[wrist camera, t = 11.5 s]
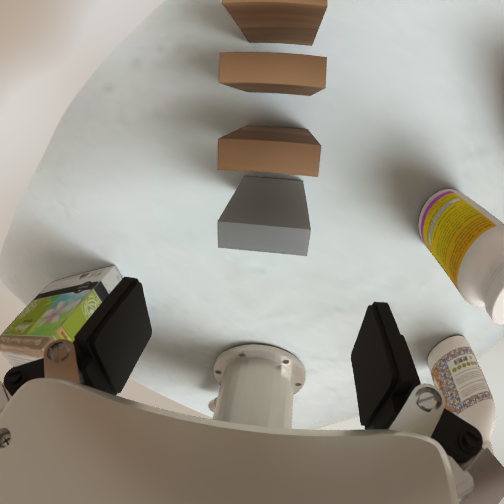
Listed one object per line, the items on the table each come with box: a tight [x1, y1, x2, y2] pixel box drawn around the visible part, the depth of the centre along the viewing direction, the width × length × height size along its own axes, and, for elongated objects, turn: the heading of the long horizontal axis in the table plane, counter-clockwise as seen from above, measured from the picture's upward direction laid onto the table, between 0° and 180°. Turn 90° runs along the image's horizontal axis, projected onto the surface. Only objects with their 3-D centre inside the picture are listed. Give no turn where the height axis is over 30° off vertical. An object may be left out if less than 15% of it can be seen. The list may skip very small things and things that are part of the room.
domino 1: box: [222, 0, 327, 46], centre depth 13 cm, size 2×5×10 cm, turn 89°
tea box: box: [0, 266, 123, 367], centre depth 28 cm, size 15×10×15 cm, turn 108°
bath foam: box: [427, 336, 496, 455], centre depth 23 cm, size 7×7×20 cm
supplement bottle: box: [418, 189, 504, 324], centre depth 17 cm, size 7×7×13 cm
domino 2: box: [219, 52, 327, 96], centre depth 15 cm, size 2×5×10 cm, turn 88°
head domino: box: [218, 176, 311, 256], centre depth 20 cm, size 2×5×10 cm, turn 87°
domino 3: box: [218, 125, 321, 177], centre depth 18 cm, size 2×5×10 cm, turn 88°
